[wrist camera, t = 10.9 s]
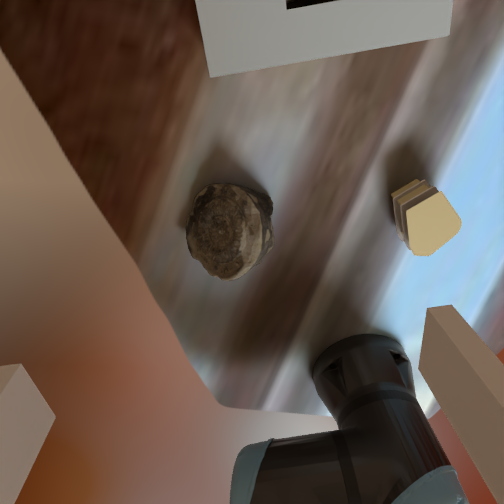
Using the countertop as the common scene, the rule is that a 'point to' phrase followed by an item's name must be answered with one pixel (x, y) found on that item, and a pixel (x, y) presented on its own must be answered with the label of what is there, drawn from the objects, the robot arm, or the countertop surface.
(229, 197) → the fossil
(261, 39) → the slot box
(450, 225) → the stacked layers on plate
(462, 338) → the robot arm
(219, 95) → the countertop surface
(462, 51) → the countertop surface
